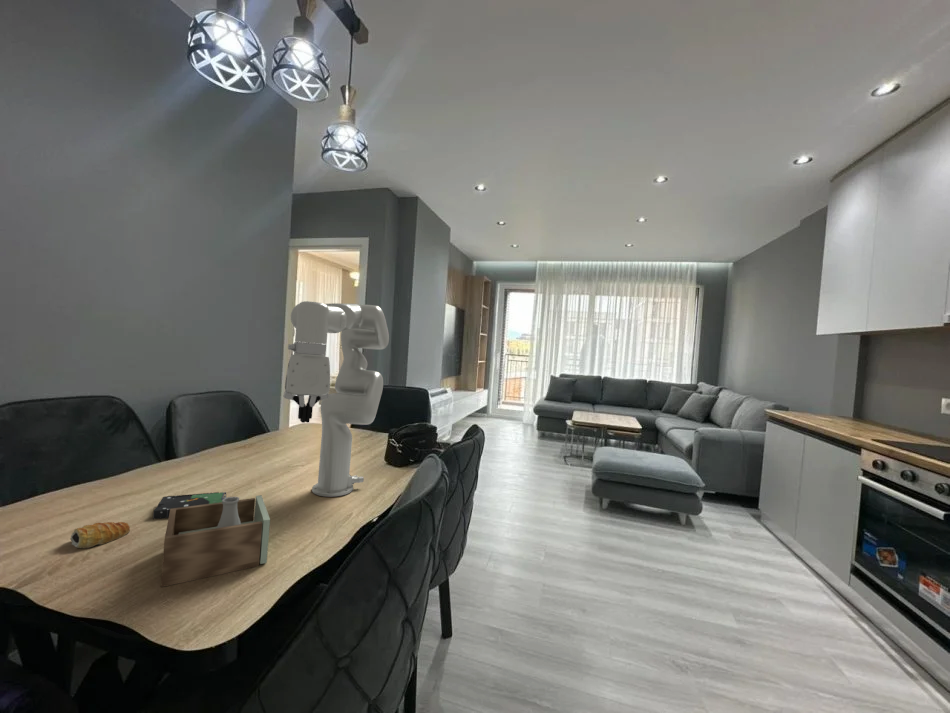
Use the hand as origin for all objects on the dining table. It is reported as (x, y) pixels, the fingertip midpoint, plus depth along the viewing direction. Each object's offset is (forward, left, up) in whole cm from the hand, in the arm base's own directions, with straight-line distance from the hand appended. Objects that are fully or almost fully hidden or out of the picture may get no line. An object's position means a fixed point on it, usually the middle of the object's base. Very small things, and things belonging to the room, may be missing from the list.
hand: (304, 421), depth 99 cm
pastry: (+39, -11, -28) cm, 49 cm away
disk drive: (+22, -22, -28) cm, 42 cm away
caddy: (+18, +8, -27) cm, 34 cm away
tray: (+16, +8, -27) cm, 32 cm away
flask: (+15, +8, -25) cm, 31 cm away
